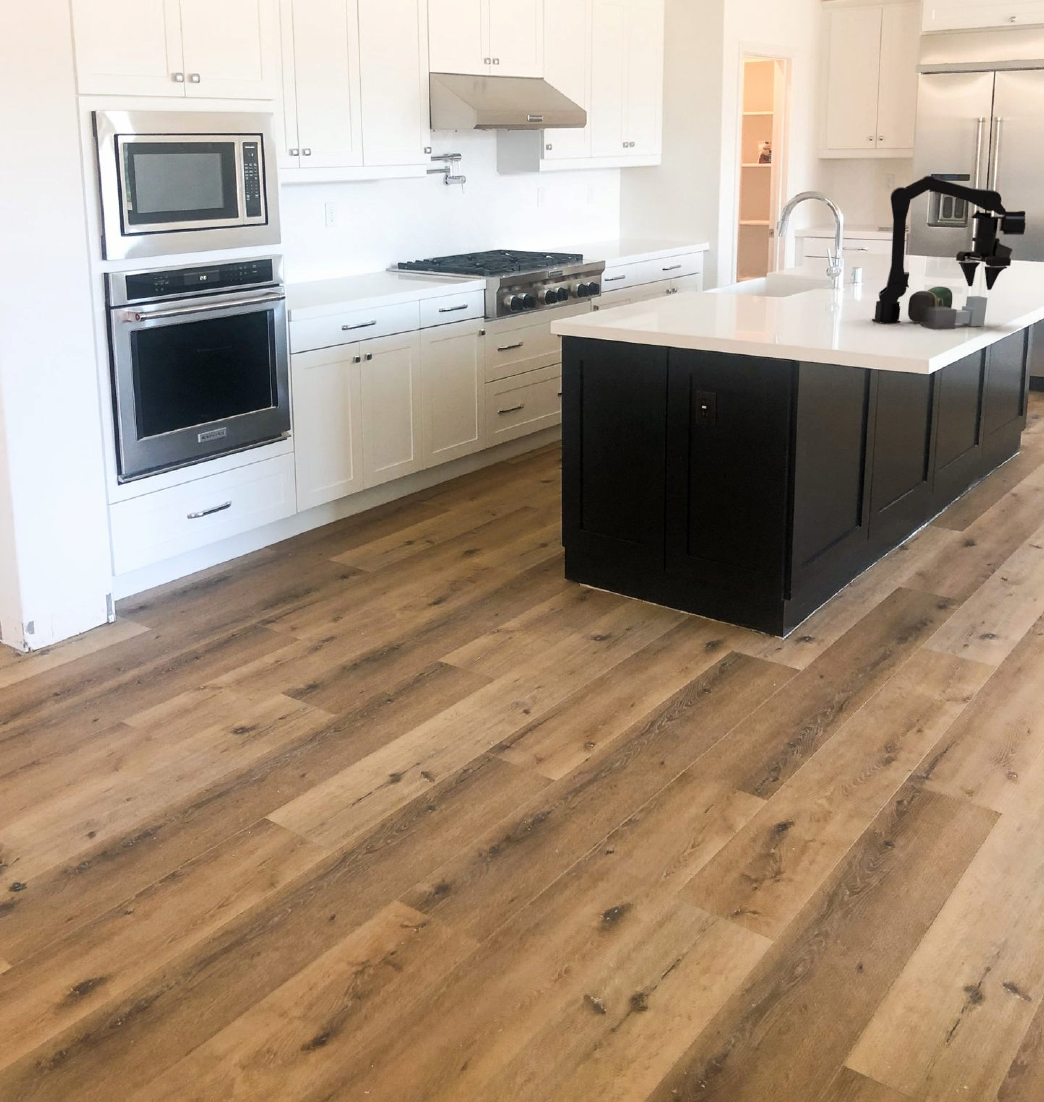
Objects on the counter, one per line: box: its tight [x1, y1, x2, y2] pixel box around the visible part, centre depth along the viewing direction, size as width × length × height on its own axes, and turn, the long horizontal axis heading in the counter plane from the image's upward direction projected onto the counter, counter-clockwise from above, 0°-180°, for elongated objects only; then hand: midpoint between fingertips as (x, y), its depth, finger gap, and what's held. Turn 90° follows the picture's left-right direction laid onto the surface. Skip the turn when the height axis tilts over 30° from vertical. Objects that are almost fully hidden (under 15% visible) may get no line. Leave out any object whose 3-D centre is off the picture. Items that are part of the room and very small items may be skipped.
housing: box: [920, 306, 958, 330], centre depth 361 cm, size 7×7×6 cm
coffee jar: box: [907, 286, 953, 323], centre depth 374 cm, size 10×8×19 cm
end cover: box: [955, 295, 988, 327], centre depth 363 cm, size 11×6×8 cm, turn 106°
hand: (979, 288), depth 362 cm, fingers open, 9 cm apart
